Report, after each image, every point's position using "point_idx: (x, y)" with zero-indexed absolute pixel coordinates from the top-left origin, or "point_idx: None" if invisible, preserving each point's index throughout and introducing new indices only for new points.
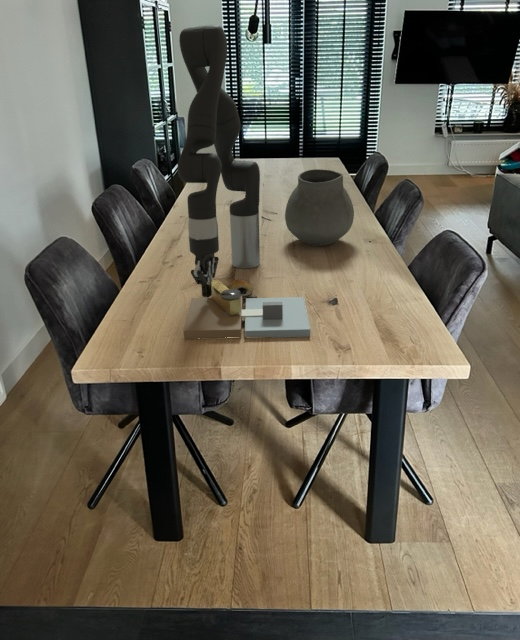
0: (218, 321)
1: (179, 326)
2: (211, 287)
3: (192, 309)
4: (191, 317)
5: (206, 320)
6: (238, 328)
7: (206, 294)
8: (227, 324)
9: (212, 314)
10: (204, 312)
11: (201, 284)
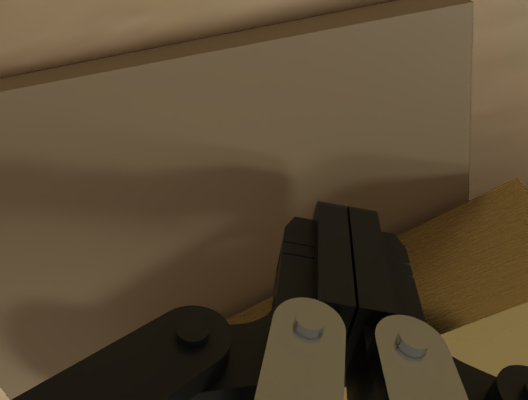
0: (50, 308)
1: (22, 2)
2: (435, 308)
3: (179, 96)
4: (29, 129)
5: (31, 242)
6: (18, 395)
7: (276, 269)
8: (35, 352)
9: (133, 263)
10: (151, 205)
11: (262, 318)
